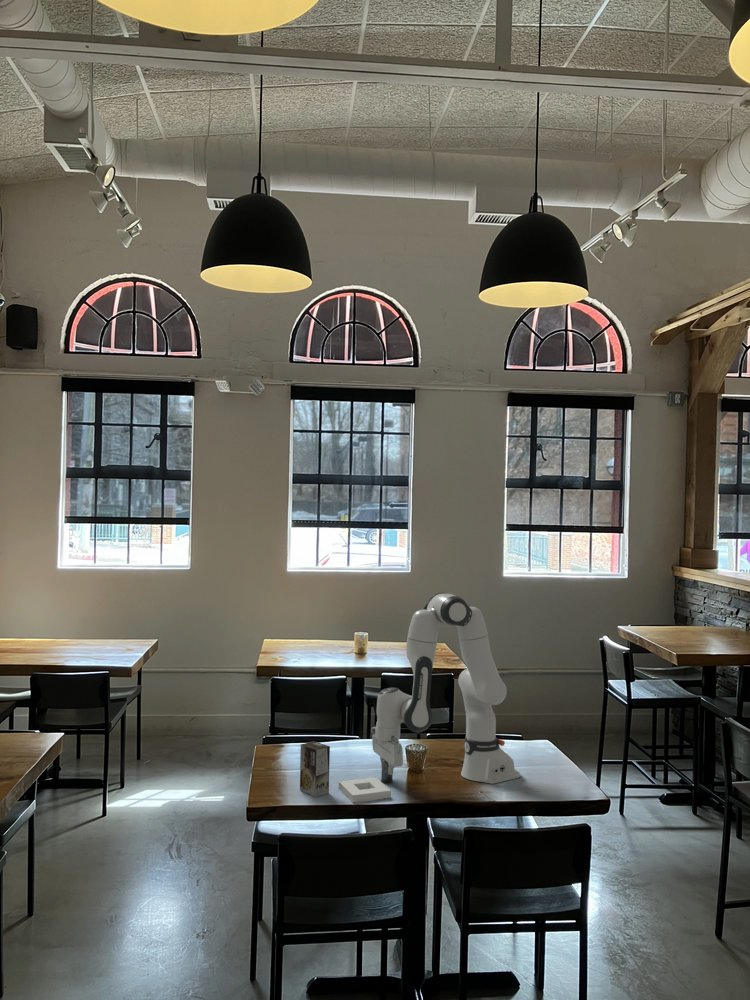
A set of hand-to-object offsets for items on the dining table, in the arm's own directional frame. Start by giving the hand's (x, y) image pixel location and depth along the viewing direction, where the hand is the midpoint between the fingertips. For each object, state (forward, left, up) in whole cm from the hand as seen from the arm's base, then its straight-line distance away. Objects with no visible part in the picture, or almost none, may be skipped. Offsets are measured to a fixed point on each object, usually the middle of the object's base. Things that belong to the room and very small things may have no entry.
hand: (387, 771), depth 272 cm
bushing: (0, 0, -4) cm, 4 cm away
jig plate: (+12, +8, -4) cm, 15 cm away
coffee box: (+28, +1, -4) cm, 28 cm away
